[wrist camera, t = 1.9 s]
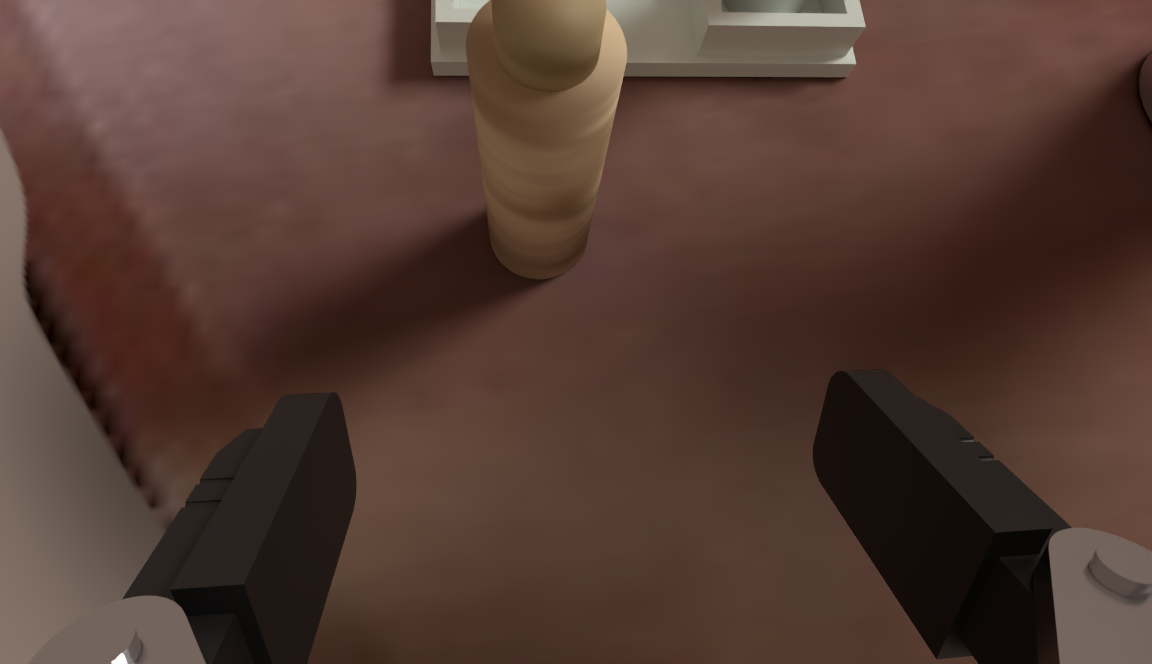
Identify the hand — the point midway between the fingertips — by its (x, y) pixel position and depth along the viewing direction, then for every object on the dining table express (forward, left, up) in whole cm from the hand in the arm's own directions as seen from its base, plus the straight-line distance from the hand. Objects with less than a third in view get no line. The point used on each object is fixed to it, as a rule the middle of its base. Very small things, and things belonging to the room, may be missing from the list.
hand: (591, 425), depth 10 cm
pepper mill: (-9, -7, -16) cm, 20 cm away
